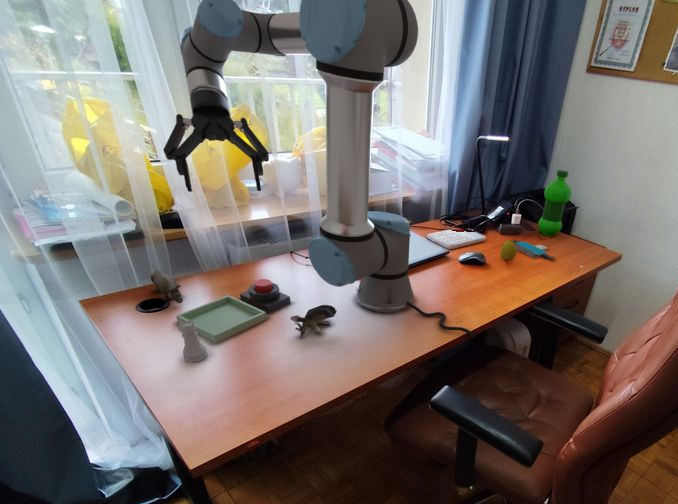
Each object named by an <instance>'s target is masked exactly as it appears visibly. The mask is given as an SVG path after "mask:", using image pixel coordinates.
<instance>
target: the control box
mask: <svg viewBox="0 0 678 504" xmlns="http://www.w3.org/2000/svg"><path fill="white" fill-rule="evenodd" d="M247 289H248V290H246V291H244V292H241V293H239V298H240V300H241V301H243V302H245V303H247V304H249V305H251V306H254V307H256V308H258V309H260V310H262V311H264V312H266V314H271V313H273V312H275V311H277V310H279V309H282V308H284V307H286V306H288V305H291V303H292V302H291V296H289V295H288V294H285V293H282V292H281V291H280V287H279V284H277V283H274V282H272V290H271V291H269V292H263V293H262V292H256V291H255V286H254V283H253V284H251V285H249V287H248V288H247Z"/></svg>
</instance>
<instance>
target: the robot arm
mask: <svg viewBox="0 0 678 504" xmlns="http://www.w3.org/2000/svg"><path fill="white" fill-rule="evenodd" d="M418 25H419V24H418V18H417V16H416V12H415V10H414V8H413V6H412V4H411V3H410V2H409V0H300V5H299V11H295V12H293V11H292V12H278V13H260V12H254V11H249V10H244V9H241V8H240V6H239V5H238V4H237V2H236V1H234V0H201V1H200V3H199V5H198V6H197V9H196V15H195V18H194V21H193V23H192V25H191V26H188V27H186V28H185V29H183V30H182V31H181V33H180V37H179V39H180V40H179V41H180V45H179V46H180V47H179V49H180V53H181V56H182V61H183V67H184V73H185V78H186V84H187V90H188V96H189V102H190V107H191V114H192V116H191V118H190V117H183V115H182V114H180V113H178V114H176V115H175V125H174V127H173V129H172V131H171V133H170V135H169V137H168V139H167V141H166V143H165V145H164V147H163V149H162V150H163V153H164V155H165V158H166V159H167V160H168V161H174V162H175V167H176V171H177V173H178V175H179V176H183V177H184V178H183V179H184V185H185V187H186V191H187V192H189V193H192V192H193V187H192V182H191V176H190V170H189V164H188V161H187V158H188V157H189V156H190V155H191V154H192V153H193V152H194V151H195V150H196V148H197V147H198V146H199V145H200V144H202V143H204V142H205V141H206V140H208V141H209V142H213V141H218V142H225V141H228V142H229V143H230V144H232V145H234V146H235V147H236V148H237V149H239V150H240V151H241V152H242V153H243V154H244V155H246V156H247V157H248V158H249V159H250V160H251V165H252V169H253V175H254V181H255V185H256V191H257V192H261V191H262V187H261V180H260V179H261V178H260V177H262V176H264V167H263V163H264V162H266V163H267V162H269V161H270V154H269V151H268V149H267V148H266V147H265V146H264V145H263V143H262V142H261V141H260V139H259V138H258V137H257V135H256V134H255V133H254V131H253V130H252V129H251V127H249V124H248V121H247V119H246V117H241V118H240V120H234V119H233V118H232V115H231V110H230V105H229V99H228V95H227V89H226V82H225V78H224V71H223V70H224V69H223V68H224V66H225V64H226V62H227V60H228V58H229V57H230V54H231V52H239V53H250V54H260V55H269V56H275V57H290V56H312V57H313V58H314V59H315V71H316V73H317V74H318V75H319V76H320V78H321V79H322V81H323V82H324V85H325V88H324V89H325V169H326V170H325V174H326V175H325V176H326V178H325V179H326V187H325V188H326V214H325V215H324V216H322V217H321V218H320V220H319V221H318V222H319V235H318V236H314V237H313V238H312V239H311V241H309V242H308V243H309V244H308V247H307V250H308V251H307V253H308V257H309V261H310V263H311V266H312V268H313V269H314V271H315V272H316V273H317V275H318V276H319V278H320V279H322V280H323V281H324V282H325V283H327V284H329V285H330V286H334V287H344V286H347V285H352V284H354V283H356V282H357V281H359V280H360V281H359V284H358V287H357V286H355V291H356V301H357V303H358V304H359V305H360V306H361V307H362V308H364V309H366V310H368V311H371V312H375V313H382V314H392V313H393V314H394V313H398V312H402V311H405V310H407V309H410V308H412V309H413V310H415V311H416V312H418V314H420V315H421V316H424V317H427V318H430V317H436V316H441V319H439V322H438V325H439V327H440V328H441V329H443V330H446V331H460V332H464V333H466V334H468V336H469V337H470V338H475V335H474V334H473V333H472V332H471V330H469V329H467V328H466V327H463V326H462V327H461V326H448V325H446V324H445V325H444V322H445V320H446V318H447V316H446V314H445V313H444V312H440V311H436V312H431V313H430V312H429V313H427V312H424V311H423V310H422V309H420V308H419V307H418V306H416V305H415V304H414V295H415V294H414V290H413V288H412V284H411V280H410V276H409V260H410V259H409V258H410V241H411V236H412V235H411V223H410V222H409V220H408V219H407V218H406V217H405V216H402V215H399V214H396V213H393V212H392V213H391V212H386V211H369V203H370V202H369V201H370V183H371V182H370V181H371V180H370V179H371V163H372V162H371V160H372V143H373V125H374V123H373V122H374V105H375V104H374V103H375V91H376V90H377V89H378V88H380V86H381V85H383V84H384V77H385V76H384V75H385V68H394V67H397V66H400V65H403V63H405V62H406V61H408V60H409V58H410V57H411V56H412V55H413V53H414V51H415V49H416V46H417V42H418V38H419V26H418ZM191 126H192V127H193V130H192V132H191V133H190V134H189V136H188V137H187V138H186V139H185V140H184V141H183V142H182V140H183V139H184V137H185V135H186V134H185V133H186V131H187V130H188V129H190V127H191ZM235 129H238V130H239V132H240V133H243V136H244V137H245V138H246V140H247V142H249V143H250V144H249V143H247V142H246V140H244V139H243V138H242V137H241V136H240V135H238V134H237V133H236V131H235ZM181 142H182V143H181Z"/></svg>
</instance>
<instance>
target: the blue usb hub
mask: <svg viewBox="0 0 678 504" xmlns="http://www.w3.org/2000/svg"><path fill="white" fill-rule="evenodd" d="M512 242H514V243H515V245H516V247H517V251H519V252H521V253H523V254H525V255H527V256H529V257H531V258H533V259H536V258H542V259H544V260H550V261H554V257H553V256H550V255H549V254H547V253H548V252H547V251H546V250H548V249H549V247H547V246H545V245H544V244H537V245H533V244H531V243H529V242H527V241H520V240H517V239H512Z"/></svg>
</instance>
